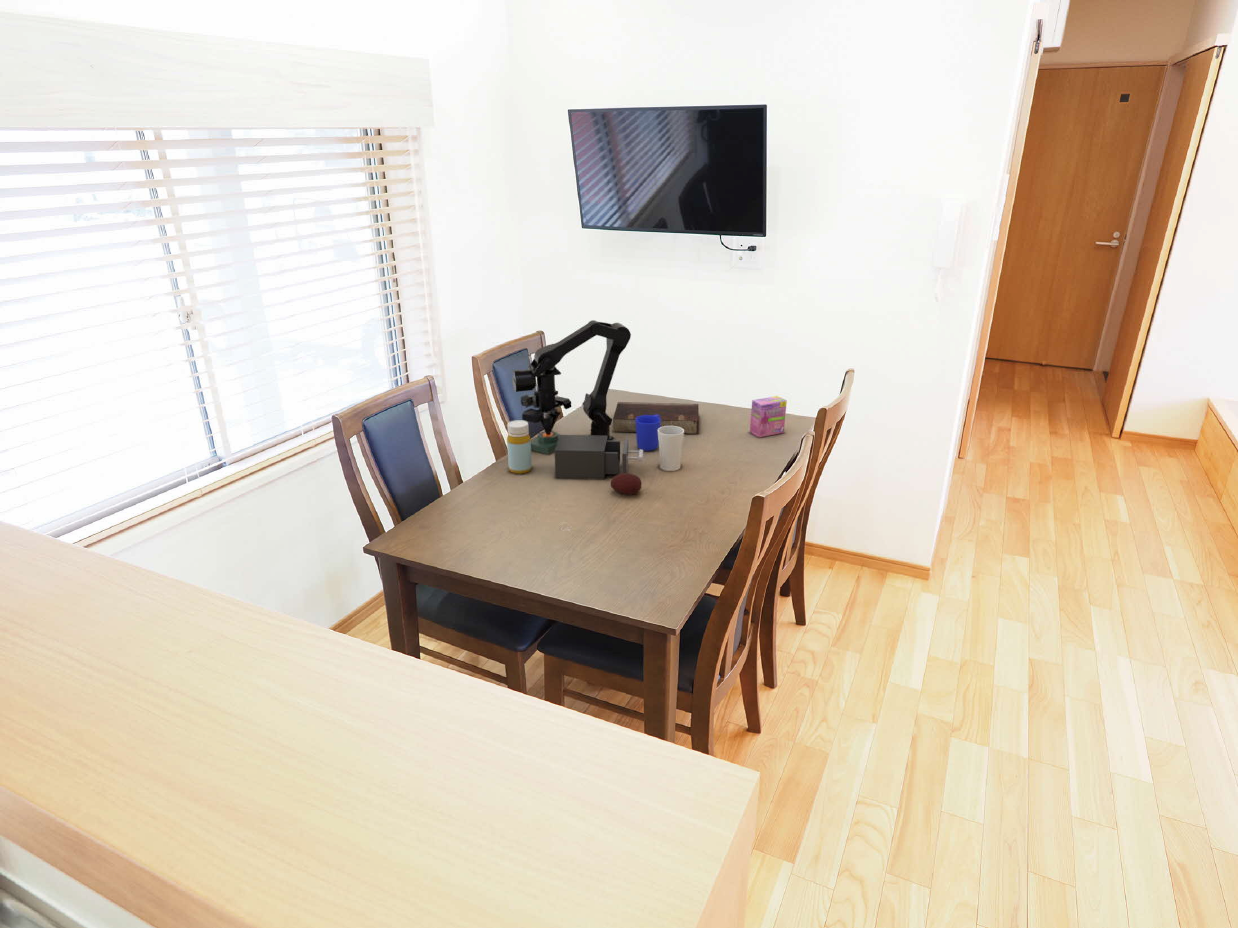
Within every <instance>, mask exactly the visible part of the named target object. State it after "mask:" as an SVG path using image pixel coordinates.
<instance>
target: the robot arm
mask: <svg viewBox="0 0 1238 928" xmlns="http://www.w3.org/2000/svg"><path fill="white" fill-rule="evenodd" d="M596 336H598V337H602V338H605V339H606V340H605V341H606V349H605V352H604V356H603V359H602V363H601V365H600V368H599V372H598V374H597V378H596V381H595V384H594V388H593V390H592V391H591V392H590V393H585V397H584V400H583V402H582V403H581V405H582V406H583V408H582V410H583V413H584V414H585V415H586V416H587V417H588V418H589V419H590V420H591V423H590V435H601V436H607V441H612V440H614V436H613V435H611V433H610V432H611V431H610V429H611V428H610V427H611V425H612V424H613V418H612V417H611V416H610V415H609V414H608V413H607V412H606V411H607V406H608V404H607V395H608V392H609V390H610V386H611V383H612V380H613V377H614V374H615V370H616V367H617V366H618V365H617V364H618V361H619V358H620V355H622V353H623V351H624V350H625V349H626V347H627V346H628V344H629V342H630V340H631V336H632V334H631V331H630V329H629V328H628V327H627V326H625V325H624V324H622V323H621V322H614V323H609V322H603V321H597V320H594V319H593V320H589V321H588V323H586V324H584V325H583V326H581V327H580V328H578V329H576V330H575V331H573V332H572V333H571V334H568V335H567V336H566V337H564V338H563V339H561V340H559V341H557V342H555V343H551V344H546V345H545V346H541V347H539V348H538V349H536V351H535V352H534V356H533V359H532V361H531V363H530V364H529V366H528V368H526V369H514V370H513V374H512V379H511V380H512V388H513V391H514V393H519V392H529V391H533V390H534V389H535V388H536V390H535V391H534V393H533V394H531V395H528V394H525V395H522V396H520V405H521V406H522V407H524V408H525V409H526V410H524V411H523V412H522V413H521V420H523V421H526V422H528V423H529V422H530V423H534V424H537V423H541V425H542V428H543V430H544V431H545V432H546V434H547V435H549V434H550V433H551V431H553V428H554V427H555V425H556V423H557V420H558V418H559V417H560V415H561V414H562V412H560V411H558V408H561V407H562V406H563V409H565V410H568V409H571V408H572V401H571V400H570V398H568V397H563V396H557V395H559V390H556V376H560V375H562V372H561V371H560V369H558V368H557V367H556V366H557V365H558V364H559V363H560V362H561V361H562V360H563V358H564V357H565V356H566V355H568V354H569V353H570V352H572V351H573V350H575V349H577V348H578V347H580V346H581V345H583V344H585V343H586V342H588V341H589V340H591V339H593V338H594V337H596ZM529 407H533V408H529ZM527 408H528V409H527ZM537 408H538V409H537Z"/></svg>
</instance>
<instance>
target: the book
mask: <svg viewBox="0 0 1238 928" xmlns="http://www.w3.org/2000/svg"><path fill="white" fill-rule="evenodd" d="M699 409H700V408H699V403H677V402H676V403H675V402H671V403H670V402H636V401H635V402H634V401H633V402H630V401H629V402H628V401H617V404H616V407H615V410H614V414H613V418H612V431H613V432H625V433H636V423H635V419H636V418H637V417H639V416H643V415H653V416H654V415H659V418H660V419H661V425H660V427H663V426H678V427H681V428H683V429H684V434H699V429H700V428H699V427H700V416H699V415H700V414H699Z"/></svg>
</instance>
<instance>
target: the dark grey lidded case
mask: <svg viewBox="0 0 1238 928" xmlns="http://www.w3.org/2000/svg"><path fill="white" fill-rule="evenodd" d="M606 442H607V436H601V435H591V434H561V435H560V437H559V439H558V442H557V445H556V447H555V450H554V452H553V453H554V473H555V474H554V475H555V479H565V480H568V479H570V480H571V479H572V480H605V478H606V474H604V451H605V447H606Z"/></svg>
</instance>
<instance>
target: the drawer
mask: <svg viewBox="0 0 1238 928" xmlns="http://www.w3.org/2000/svg"><path fill="white" fill-rule="evenodd" d="M629 454H638V456H629ZM629 460H636V461H639V462H642V461H643V460H644V450H642V449H638V450H629V439H627V438H626V439H624V441H623V447H622V452H621V440H609V441H607V442H606V447H605V451H604V474H605V475H618V474H619V471H620V465H621V471H622V472H621V473H628V468H629Z"/></svg>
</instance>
